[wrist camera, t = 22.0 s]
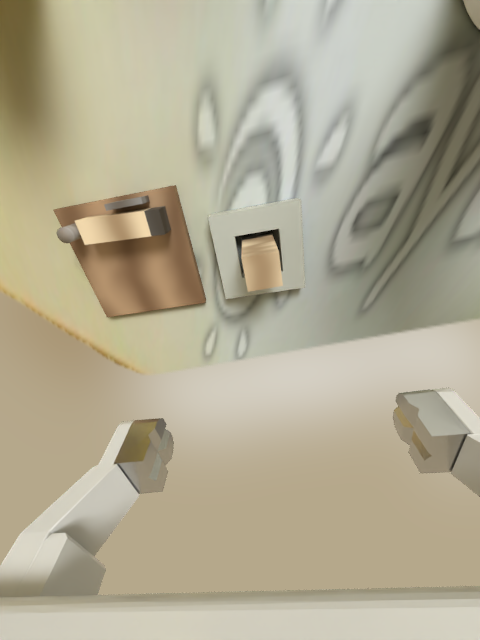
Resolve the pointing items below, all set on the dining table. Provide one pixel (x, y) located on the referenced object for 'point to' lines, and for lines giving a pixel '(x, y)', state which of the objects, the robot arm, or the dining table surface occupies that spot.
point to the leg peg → (261, 262)
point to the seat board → (137, 257)
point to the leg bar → (124, 225)
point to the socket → (252, 221)
